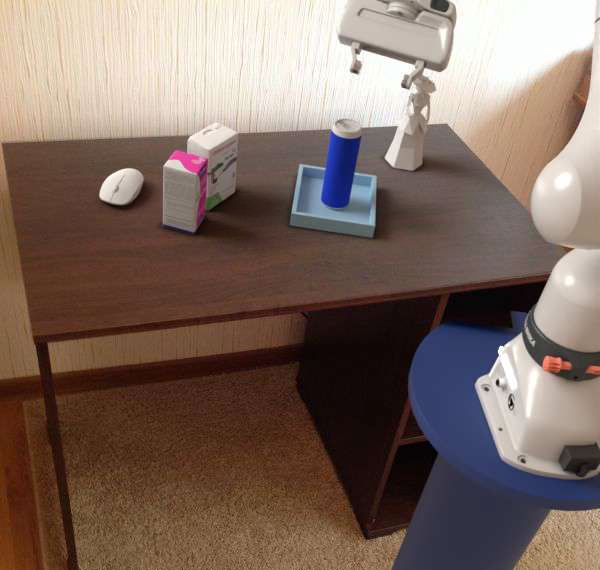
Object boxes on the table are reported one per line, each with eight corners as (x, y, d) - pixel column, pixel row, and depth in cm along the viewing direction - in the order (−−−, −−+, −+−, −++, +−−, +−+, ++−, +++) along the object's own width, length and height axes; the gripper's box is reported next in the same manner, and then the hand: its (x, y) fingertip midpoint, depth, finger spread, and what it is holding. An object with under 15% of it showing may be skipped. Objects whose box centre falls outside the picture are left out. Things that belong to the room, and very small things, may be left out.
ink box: (208, 212, 131) (210, 149, 122) (185, 201, 132) (185, 138, 123) (236, 191, 136) (240, 130, 127) (214, 181, 137) (216, 120, 129)
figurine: (399, 173, 147) (421, 83, 134) (378, 152, 152) (397, 63, 138) (429, 168, 150) (453, 79, 137) (407, 148, 154) (428, 60, 141)
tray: (372, 238, 131) (375, 226, 129) (289, 225, 131) (291, 213, 129) (374, 187, 142) (376, 175, 141) (298, 175, 142) (299, 163, 140)
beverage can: (354, 205, 137) (369, 127, 126) (334, 214, 134) (348, 136, 123) (334, 192, 139) (347, 114, 128) (314, 200, 136) (326, 122, 125)
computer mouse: (94, 202, 129) (92, 187, 126) (119, 174, 135) (118, 159, 133) (126, 211, 128) (125, 196, 126) (150, 183, 135) (149, 168, 132)
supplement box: (195, 235, 126) (196, 174, 117) (161, 227, 126) (160, 165, 118) (206, 217, 130) (208, 156, 121) (174, 209, 130) (173, 148, 122)
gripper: (349, -24, 128) (320, 54, 128) (464, 8, 124) (434, 88, 125) (354, -3, 134) (326, 71, 135) (464, 27, 130) (434, 103, 131)
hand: (379, 79), depth 130 cm, fingers open, 8 cm apart
